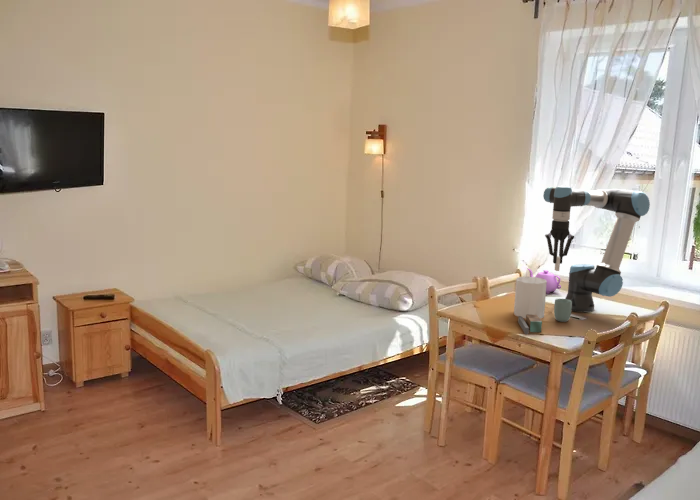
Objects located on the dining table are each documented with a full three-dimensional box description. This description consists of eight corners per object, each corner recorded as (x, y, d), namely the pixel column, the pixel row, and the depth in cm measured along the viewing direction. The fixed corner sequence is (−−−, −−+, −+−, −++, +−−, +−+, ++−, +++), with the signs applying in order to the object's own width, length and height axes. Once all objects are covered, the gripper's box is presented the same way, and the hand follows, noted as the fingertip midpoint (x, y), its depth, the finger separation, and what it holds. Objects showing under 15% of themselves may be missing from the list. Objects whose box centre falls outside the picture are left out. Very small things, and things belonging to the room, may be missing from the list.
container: (517, 309, 315) (519, 275, 312) (546, 313, 309) (548, 278, 305) (511, 316, 302) (513, 281, 299) (541, 321, 296) (544, 284, 293)
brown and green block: (541, 332, 279) (536, 324, 289) (542, 321, 278) (536, 314, 288) (530, 331, 279) (525, 324, 290) (530, 321, 278) (526, 314, 289)
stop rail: (521, 322, 293) (521, 316, 293) (528, 334, 276) (528, 327, 275) (517, 321, 293) (518, 315, 293) (525, 334, 276) (525, 327, 275)
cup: (550, 318, 300) (552, 298, 298) (566, 318, 301) (567, 298, 299) (557, 323, 292) (559, 303, 290) (573, 323, 293) (574, 302, 291)
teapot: (521, 291, 351) (523, 269, 349) (530, 286, 362) (531, 265, 360) (556, 296, 340) (558, 274, 337) (564, 291, 351) (566, 270, 349)
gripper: (548, 220, 277) (544, 271, 282) (577, 221, 276) (573, 272, 281) (544, 218, 285) (540, 268, 289) (573, 219, 284) (569, 268, 288)
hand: (556, 270), depth 285 cm, fingers closed
